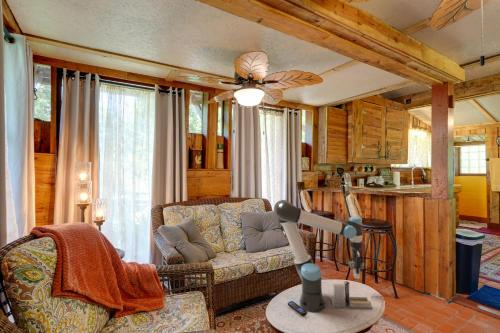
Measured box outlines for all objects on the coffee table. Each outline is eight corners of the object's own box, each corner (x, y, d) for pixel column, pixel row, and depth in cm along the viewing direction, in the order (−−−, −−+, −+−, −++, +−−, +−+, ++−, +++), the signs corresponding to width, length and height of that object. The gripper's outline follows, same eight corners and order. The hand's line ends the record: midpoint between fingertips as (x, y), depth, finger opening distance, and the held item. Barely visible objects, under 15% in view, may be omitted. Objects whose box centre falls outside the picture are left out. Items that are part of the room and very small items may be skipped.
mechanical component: (365, 279, 175) (365, 263, 175) (349, 278, 176) (348, 262, 177) (364, 277, 178) (364, 261, 178) (348, 276, 179) (347, 261, 179)
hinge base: (333, 307, 160) (332, 286, 160) (330, 298, 172) (329, 278, 172) (371, 309, 157) (370, 287, 157) (365, 299, 169) (364, 278, 169)
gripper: (365, 244, 169) (366, 282, 169) (358, 238, 185) (359, 272, 184) (353, 244, 170) (353, 281, 170) (347, 238, 186) (348, 272, 185)
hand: (356, 277), depth 177 cm, fingers closed on mechanical component, 3 cm apart
